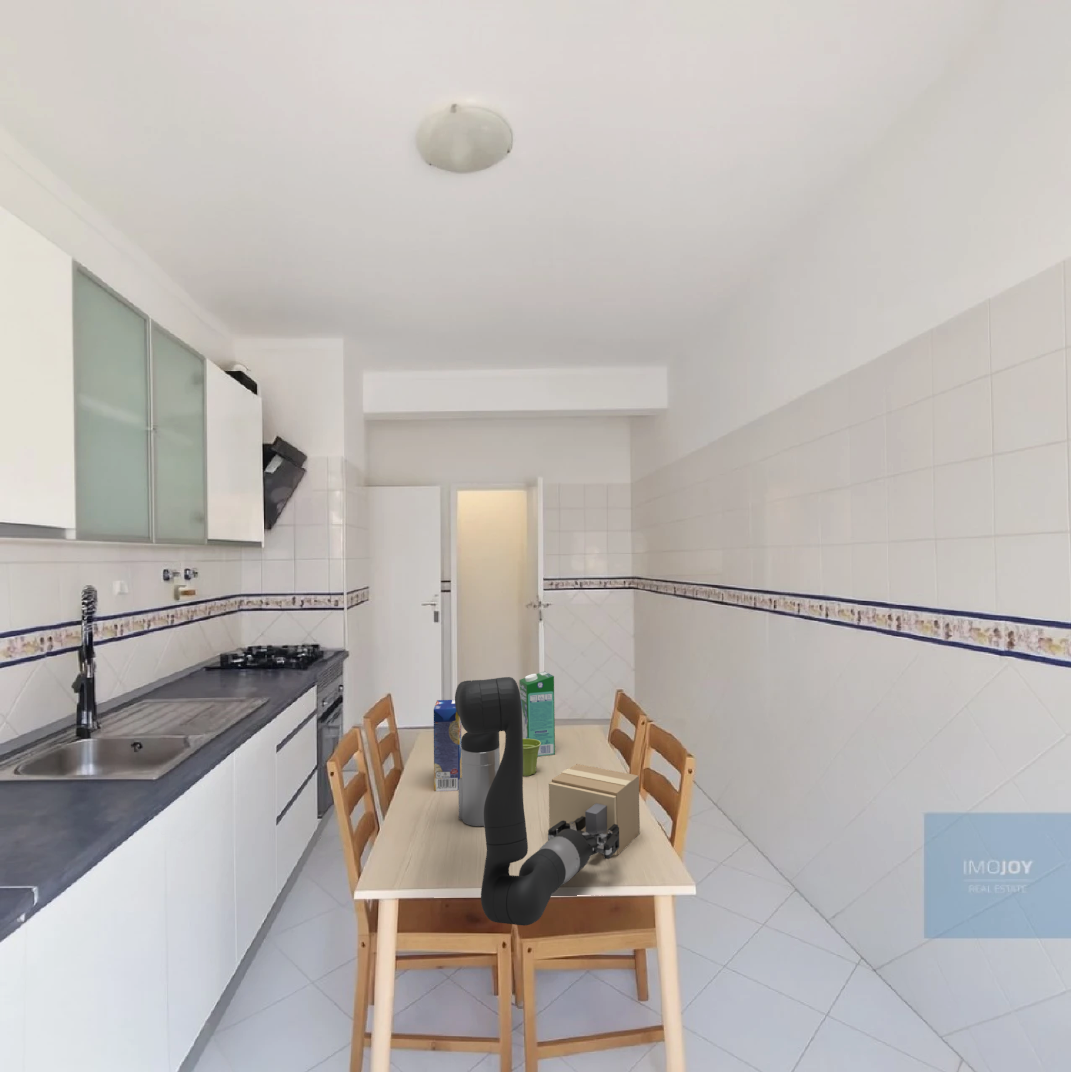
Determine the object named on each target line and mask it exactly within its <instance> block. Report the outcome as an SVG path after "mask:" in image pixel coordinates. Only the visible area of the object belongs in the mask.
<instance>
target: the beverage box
mask: <svg viewBox="0 0 1071 1072" xmlns="http://www.w3.org/2000/svg"><path fill="white" fill-rule="evenodd" d="M461 740H462V723H461V721H460V717H459V716H458V714H457V711H456V707H455V699H437V700H436V703H435V705H434V708H433V791H434V792H447V791H449V792H452V791H459V790H458V780H459V779H460V778H461V777H462V747H461Z"/></svg>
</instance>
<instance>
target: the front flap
mask: <svg viewBox="0 0 1071 1072" xmlns="http://www.w3.org/2000/svg"><path fill="white" fill-rule="evenodd" d="M548 816H549V817H548V818H549V819H548V822H549V825H548V826H549V827H548V828H549V829H550V828H552V827H553V826H554V825H556V824H557V823H559V822H560V821H563V820H564V821H566V823H569V822H570V821H575V820H576V819H577V818H580V817H581V816H584V817H585V819H586V826H585V827H584V828H583V829H582V830H581V831H584V832H588V833H590V832H594V831H598V830H600V831H601V832H604V831H607V830H608V829H609V828H610V827H611V826H612V825H614V824H617V813H616V796H614V795H609V794H604V793H600V792H595V791H590V790H586V789H581V788H576V787H572V786H567V785H562V784H558V783H553V782H552V781H550V782H549V783H548ZM549 829H548V830H549ZM595 838H596V841H597V837H595ZM604 841H607V836H606V837H604ZM597 854H599V853H598V852H597V853H596V854H595V855H597ZM616 854H617V851H616V852H615V853H614V854H613V855H612V856H617V855H616Z"/></svg>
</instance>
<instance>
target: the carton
mask: <svg viewBox="0 0 1071 1072" xmlns="http://www.w3.org/2000/svg"><path fill="white" fill-rule="evenodd" d="M551 782H553V783H558V784H562V785H567V786H572V787H576V788H581V789H586V790H590V791H595V792H600V793H604V794H609V795H614V796H616V813H617V825H618V827H619V849H618V850H617V854H616V855H615V856H619V855H620V854H621V853H622V852H623V851H624V850H625V849H626V847H628V846H629V844H631V843H632V842H633V841H634V840H635V839H636V838H637V837H638V836H639V835H640V830H641V829H640V827H641V826H640V823H641V822H640V776H639V775H636V774H634V773H627V772H626V773H625V772H621V771H616V770H611V769H605V768H601V767H595V766H589V765H584V764H581V763H580V764H579V763H576V764H574V765H573V766H571V767H570V768H566V769H564V770H562V771H561V772H560V774H558V775H557V776H555V777H553V778H552V779H551Z"/></svg>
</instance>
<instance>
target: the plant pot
mask: <svg viewBox="0 0 1071 1072" xmlns="http://www.w3.org/2000/svg"><path fill="white" fill-rule="evenodd" d="M540 745H541V742H540V741H539V740H536V739H523V777H529V776H532V775H535V774H536V772H537V763H538V757H539V756H538V750H539V747H540Z"/></svg>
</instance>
